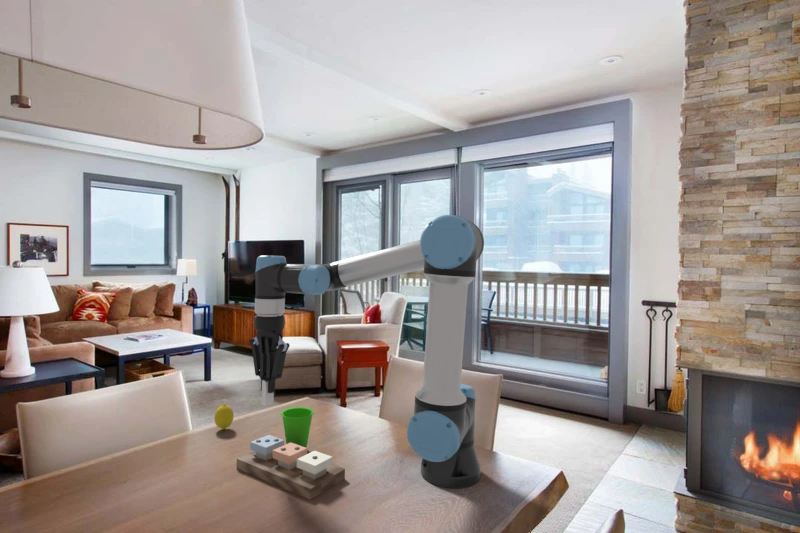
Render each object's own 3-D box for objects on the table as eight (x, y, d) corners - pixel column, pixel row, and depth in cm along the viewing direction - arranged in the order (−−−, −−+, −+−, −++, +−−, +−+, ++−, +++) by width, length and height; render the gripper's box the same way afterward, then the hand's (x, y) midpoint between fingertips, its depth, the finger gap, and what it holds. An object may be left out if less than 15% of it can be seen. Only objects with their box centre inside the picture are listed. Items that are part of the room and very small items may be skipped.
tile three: (283, 456, 120) (284, 439, 120) (265, 464, 115) (265, 446, 115) (268, 450, 123) (268, 434, 123) (250, 458, 118) (250, 441, 118)
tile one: (332, 474, 111) (332, 455, 111) (314, 484, 106) (315, 464, 106) (314, 467, 114) (314, 449, 114) (296, 477, 109) (296, 458, 109)
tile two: (306, 465, 115) (307, 447, 115) (289, 474, 110) (289, 455, 110) (290, 459, 119) (290, 441, 119) (272, 467, 114) (272, 449, 114)
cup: (309, 458, 124) (310, 418, 123) (276, 457, 124) (276, 417, 124) (316, 444, 133) (316, 407, 132) (285, 443, 133) (285, 406, 132)
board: (344, 478, 113) (344, 468, 113) (310, 499, 103) (310, 488, 102) (273, 452, 127) (273, 443, 127) (236, 468, 117) (236, 458, 117)
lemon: (236, 429, 143) (237, 403, 143) (221, 434, 138) (222, 408, 138) (225, 425, 146) (226, 400, 146) (210, 430, 141) (210, 404, 141)
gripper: (298, 315, 118) (295, 405, 119) (264, 311, 125) (262, 396, 126) (275, 318, 112) (273, 413, 112) (241, 313, 119) (239, 402, 120)
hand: (267, 404), depth 119 cm, fingers closed
